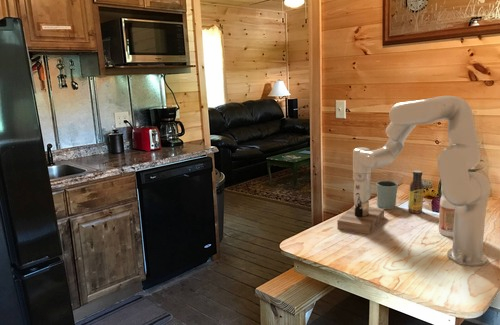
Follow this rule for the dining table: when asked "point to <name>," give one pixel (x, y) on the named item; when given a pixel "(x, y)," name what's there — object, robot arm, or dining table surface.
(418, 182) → the sauce bottle
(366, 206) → the wooden peg
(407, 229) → the dining table surface
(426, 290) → the dining table surface
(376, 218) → the walnut slab
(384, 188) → the grey green cup
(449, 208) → the fruit juice
